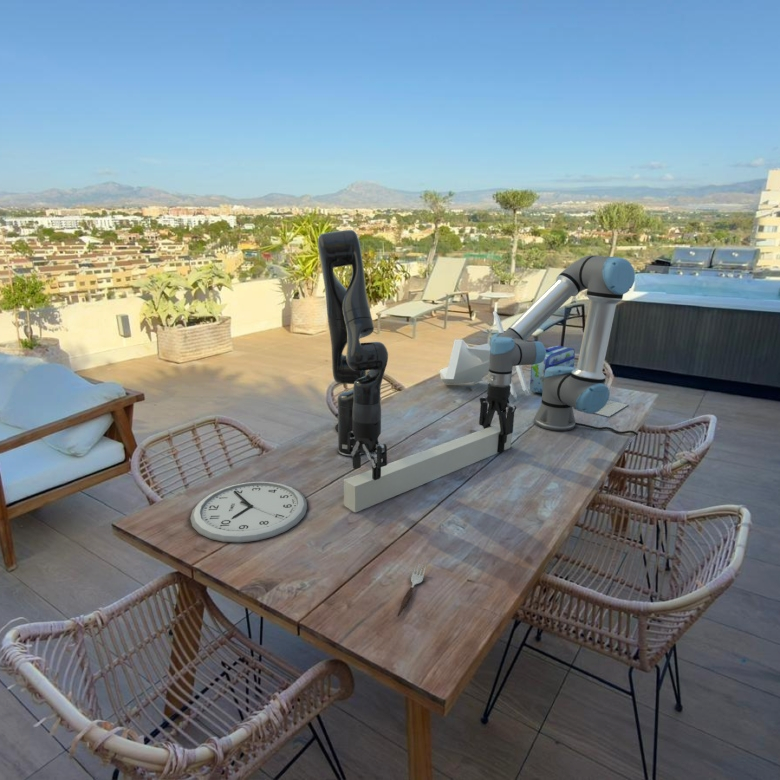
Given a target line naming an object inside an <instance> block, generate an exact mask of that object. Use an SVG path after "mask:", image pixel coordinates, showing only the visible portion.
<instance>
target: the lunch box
mask: <svg viewBox="0 0 780 780" xmlns="http://www.w3.org/2000/svg"><path fill="white" fill-rule="evenodd" d="M545 349H546V356H545V359H544V361H543V362H541V363H538V364H534V365H532V364H531V366H530V379H529V391H531V392H532V393H537V394H542V391H543V380H544V374H545V370H546V369H547V368H549V367H556V366H566V367H574V368H575V357H576V354H575V352H576V351H575V349H574V348H573V347H567V346H561V345H553V346H549V347H547V348H545Z"/></svg>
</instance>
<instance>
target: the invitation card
mask: <svg viewBox="0 0 780 780" xmlns="http://www.w3.org/2000/svg"><path fill="white" fill-rule="evenodd" d="M628 406H629V404H627V403H623V402H618V401H614V400H609V399H608V401H607V403H606V405H605V406H604V407H603V408H601V409H600V410H599V411H598V412H596V413H595V414H596V415H600V416H604V417H608V418H609V417H611V416H613V415H614V414H616V413H617V412H619V411H621V410H623V409H624V408H626V407H628Z"/></svg>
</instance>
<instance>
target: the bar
mask: <svg viewBox="0 0 780 780" xmlns="http://www.w3.org/2000/svg"><path fill="white" fill-rule="evenodd" d="M500 433H501V430H500V422H499V423H496V424H494V425H491V427H488V428H485V429H484V428H483V429H479V430H477V431H475V432H472V433H468V434H466V435H463V436H461V437H458V438H455V439H452V440H448V441H447V442H443V443H441V444H439V445H438V444H437V445H436V446H433V447H430V448H427V449H424V450H422V451H419V452H417V453H413V454H411V455H408V456H405V457H403V458H400V459H397V460H395V461H392V462H389V463H387V465H386V466H383V467H381V477H380V479H377V480H373V479H372V469H369V470H367V471H365V472H360V473H359V474H356V475H352V476H350V477H347V478H344V479H343V506H344V507H346V508H347V509H348V510H350V511H351V512H353V513H355V514H356V513H358V512H361V511H363V510H366V509H368V508H370V507H372V506H375V505H377V504H380V503H382V502H384V501H387V500H389V499H392V498H394V497H396V496H398V495H401V494H404V493H406V492H408V491H410V490H412V489H415V488H418V487H420V486H422V485H425V484H427V483H430V482H432V481H434V480H437V479H439V478H441V477H442V478H443V477H444V476H446V475H449V474H452V473H454V472H456V471H458V470H461V469H463V468H465V467H468V466H470V465H473V464H475V463H478V462H480V461H482V460H484V459H487V458H489V457H492V456H494V455H498V454H499V452H497V449H498V438H499V434H500ZM512 438H513V433H511V434H508V435H507V442H506V443H505V444H504V451H506V450H509V449H511V448H512V447H511V446H512Z"/></svg>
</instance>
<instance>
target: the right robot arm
mask: <svg viewBox="0 0 780 780" xmlns="http://www.w3.org/2000/svg"><path fill="white" fill-rule="evenodd" d="M635 273H636V272H635V269H634V266H633V265H632V263H631V262H630V261H629V260H628V259H626V258H623V257H617V256H606V255H605V256H603V255H595V254H594V255H593V254H591V255H587V256H583V257H581V258H579V259H578V260H576V261H574V262H573V263H571V264H570V265H569V266H567V267H566V268H564V269H563V270H562V271H561V272H560V274H558V275H557V276H556V278H555V282H554V283H553V284H552V285H551V286H550V287H549V288H548V289H547V290H546V291H545V292H544V293H543V294H541V296H540V297H538V299H537V300H535V301H534V303H532V305H530V306H529V307H528V308H527V309H526V310H525V311H524V312H523V313H522V314H521V315H520V316H519V317H518V318H517V319H516V320H515V321H514V322H512V324H511V325H510V326H508V328H507V329H505V331H504V333H499V332H496V333H494V334H493V335H491V337H490V340H489V345H490V360H489V374H487V375H488V378H487V389H486V394H487V396H482V397H479V403H480V407H479V420H478V425H479V426H482V428H483V429H485V428H488V427H491V426H492V422H493V420H494V416H495V413H496V414H497V416H498V422H499V423H500V430H501V433H500V434H499V438H498V449H497V452H499V453H502V452H505V450H504V444H505V443H506V442H507V435H508V434H511V433H512V434H513V432H514V423H515V413H516V409H517V406H516V405H513V404H511V403H510V399H509V398H510V396H511V392H510V388H511V386H510V384H511V378H512V376H513V367H516V366H518V365H521V366H529V365H534V364H538V363H541V362H543V361H544V359H545V356H546V349H547V348H546V346H545V345H544V343H543V342H541V341H535V340H532V341H527V340H528V339H529V338H530V337H531V336H533V334H534V333H535V332H536V331H538V330H539V328H540V327H542V325H543V324H545V323H546V322H547V321H548V320H549V319H550V318H551V317H552V316H553V314H555V313H556V312H557V311H558V310H559V309H560V308H562V306H563V305H564V304H565V303H566V302H567V301H568V300H570V298H571V297H576V296H577V295H578V294H579V293H581V292H582V291H584V290H587V291H586V294H585V295H586V297H587V298H588V300H589V304H588V309H587V314H586V318H585V324H584V329H583V334H582V338H581V345H580V348H579V349H580V350H579V355H578V358H577V365H576V367H575V366H574V367H566V366H556V367H549V368H547V369H546V370H545V374H544V380H543V391H542V393H541V402H540V405H539V407H538V410H537V411H536V413H535V416H534V424H535V425H536V426H537V427H539V428H542V429H544V430H549V431H556V432H567V431H572V430H574V429H575V428H576V426H581V427H585V428H588V429H593V430H599V431H601V430H609V431H612V432H614V433H616V434H620V435H623V434H624V435H625V434H634V435H635V436H639V433H637V432H636V431H634V430H632V429H631V430H624V431H623V430H622V431H620V430H616V429H614V428H612V427H610V426H600V427H599V426H593V425H589V424H586V423H580V422H576V418H575V417H576V416H575V413H574V409H575V410H577V411H579V412H581V413H585V414H589V415H590V414H591V415H593V414H596V412H598V411H599V410H600V409H601V408H603V407H604V406H605V405H606V403H607V401H608V400H609V399H610V390H609V387H608V386H607V385H606V384H605V382H606V379H607V378H606V375H605V374H604V373H603V371H604V365H605V360H606V355H607V351H608V346H609V343H610V342H609V341H610V336H611V331H612V327H613V322H614V317H615V313H616V308H617V304H618V303H620V302H621V301H622V300H623V297H624V295H625V294H627V293H628V292H630V289H632V288H633V287H634V283H635V279H636V274H635ZM499 453H498V454H499Z"/></svg>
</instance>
